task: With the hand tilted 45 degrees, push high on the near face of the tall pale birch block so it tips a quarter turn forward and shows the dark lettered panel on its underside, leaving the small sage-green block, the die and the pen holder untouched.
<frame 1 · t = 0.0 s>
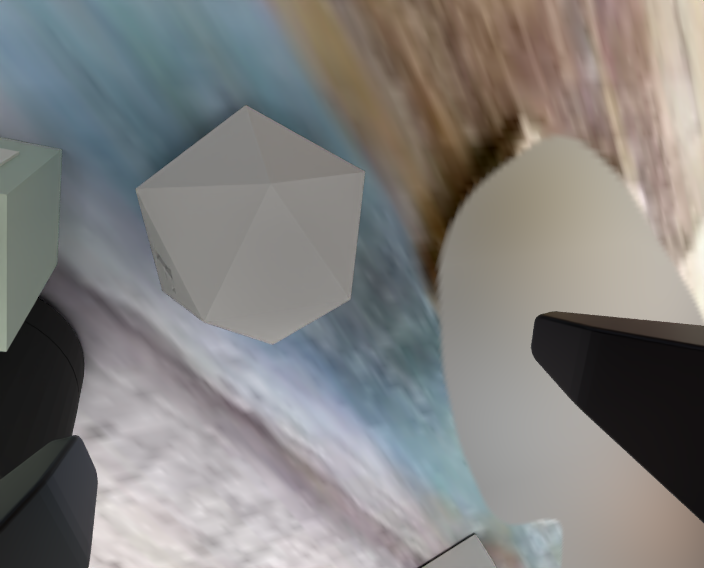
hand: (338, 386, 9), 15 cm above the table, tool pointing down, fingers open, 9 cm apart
die: (247, 205, 22), on the table
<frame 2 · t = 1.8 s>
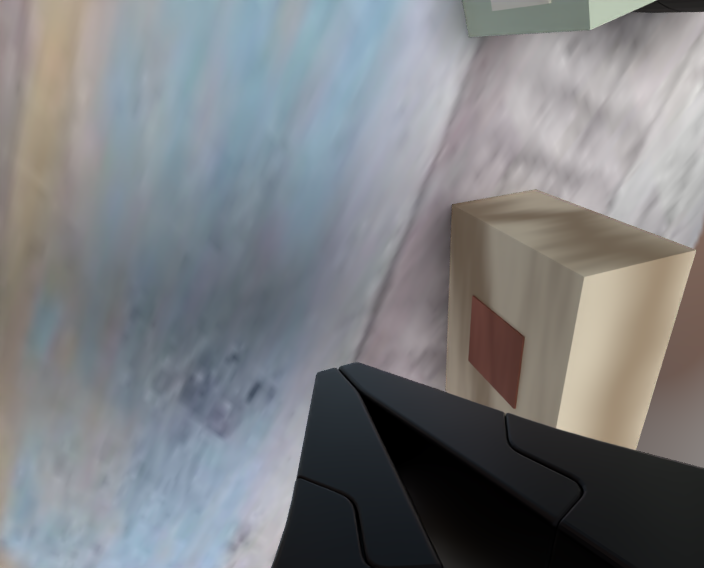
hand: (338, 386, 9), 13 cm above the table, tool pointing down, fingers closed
birch block: (486, 297, 27), on the table
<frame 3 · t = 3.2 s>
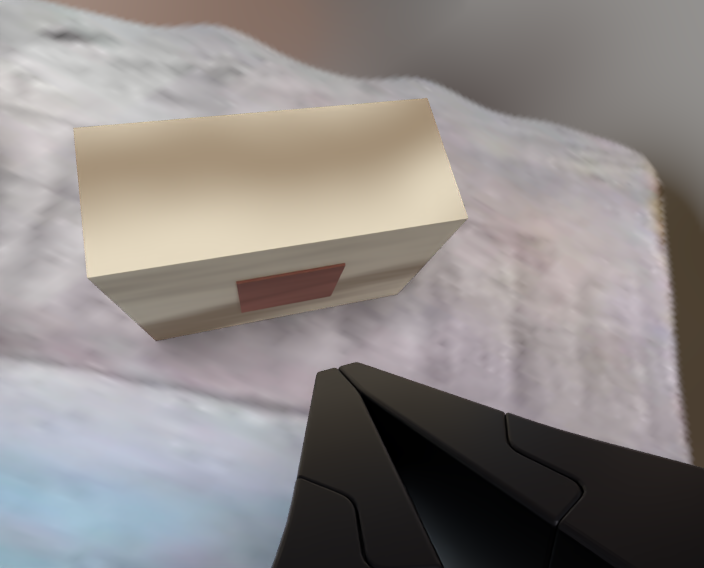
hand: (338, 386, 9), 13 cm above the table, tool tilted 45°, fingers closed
birch block: (274, 269, 24), on the table
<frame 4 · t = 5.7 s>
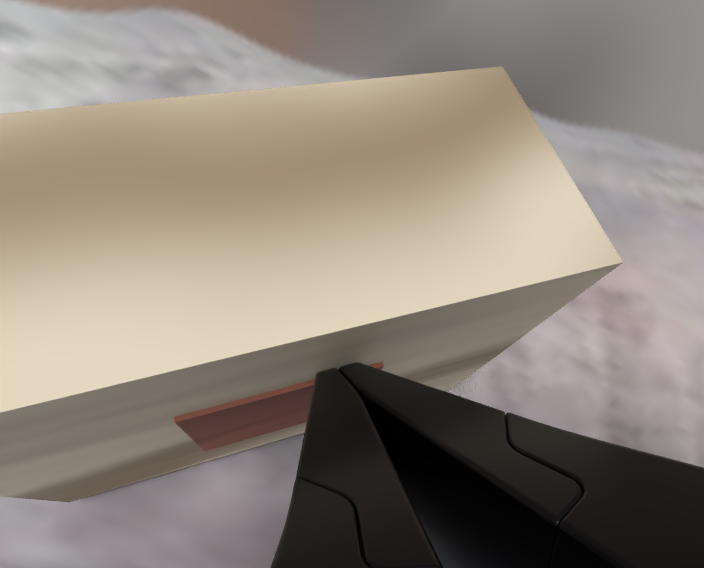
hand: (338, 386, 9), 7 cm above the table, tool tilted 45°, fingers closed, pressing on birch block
birch block: (263, 364, 15), on the table, tilted 8°, touching gripper
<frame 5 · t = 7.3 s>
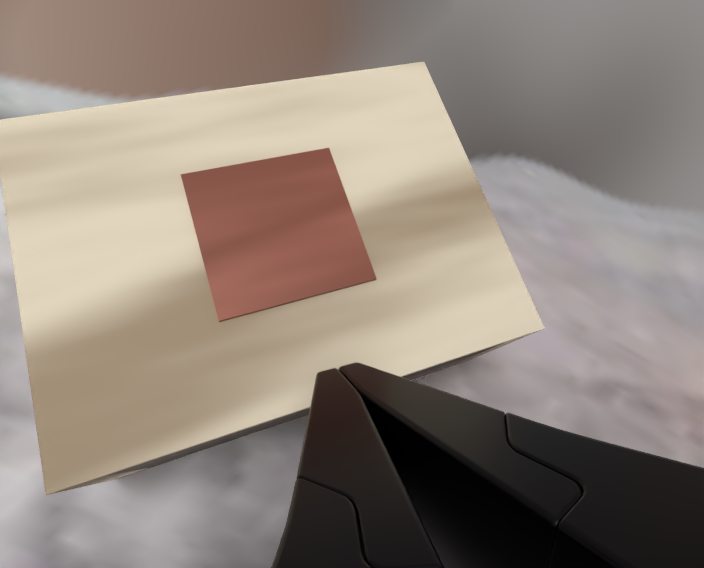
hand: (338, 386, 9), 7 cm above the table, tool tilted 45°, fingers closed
birch block: (320, 407, 13), point 2 cm above the table, tilted 90°
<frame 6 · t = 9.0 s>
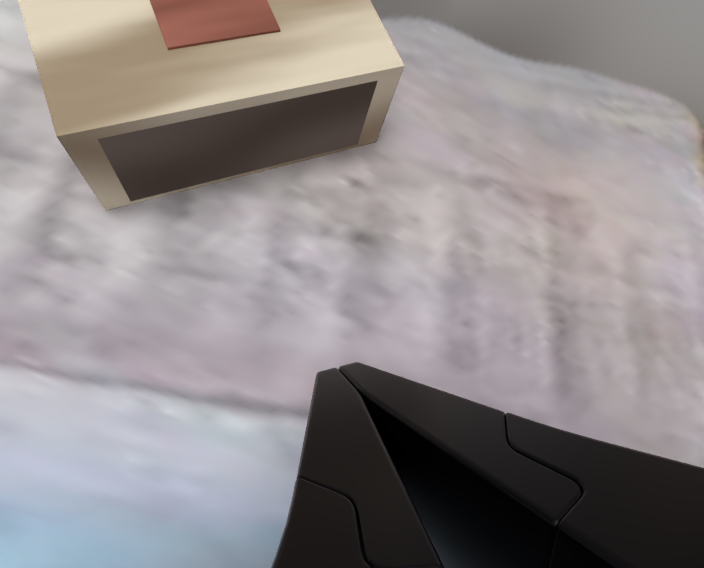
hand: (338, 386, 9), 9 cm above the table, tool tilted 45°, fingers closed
birch block: (251, 142, 18), point 2 cm above the table, tilted 90°
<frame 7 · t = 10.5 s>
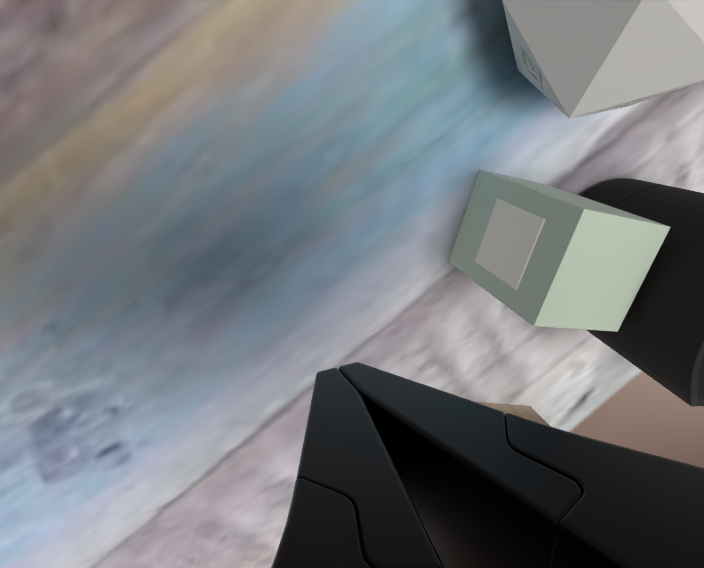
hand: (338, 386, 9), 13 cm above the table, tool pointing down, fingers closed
die: (549, 7, 21), on the table
sage block: (500, 224, 25), on the table
birch block: (405, 499, 29), point 2 cm above the table, tilted 90°
pen holder: (594, 246, 28), on the table
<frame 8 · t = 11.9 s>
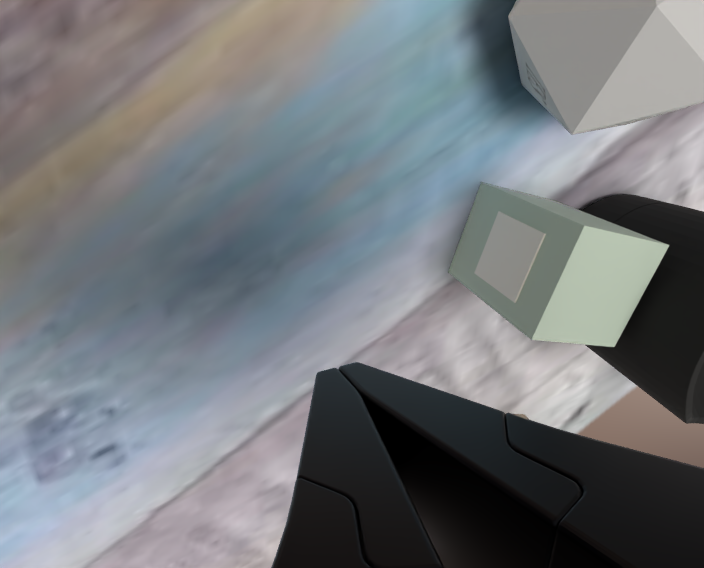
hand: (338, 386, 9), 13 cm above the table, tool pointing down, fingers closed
die: (554, 23, 21), on the table
sage block: (501, 236, 25), on the table
pen holder: (593, 260, 29), on the table
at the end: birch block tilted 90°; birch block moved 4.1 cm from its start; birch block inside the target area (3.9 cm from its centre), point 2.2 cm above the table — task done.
